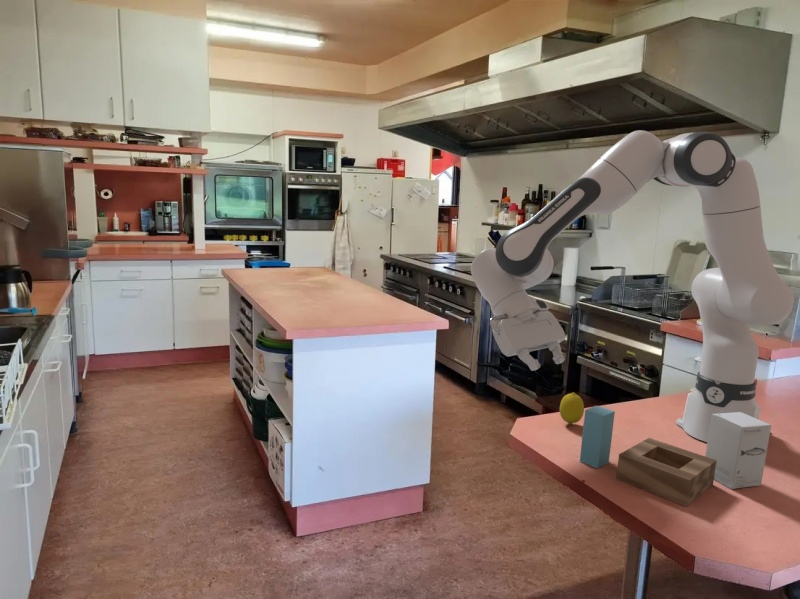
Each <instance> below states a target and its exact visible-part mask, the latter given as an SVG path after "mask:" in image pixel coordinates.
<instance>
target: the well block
mask: <svg viewBox="0 0 800 599" xmlns="http://www.w3.org/2000/svg"><path fill="white" fill-rule="evenodd" d="M617 460H618V461H617V469H616V476H615V479H616V480H618V481H620V482H624V483H626V484H628V485H631V486H634V487H637V488H638V489H641V490H643V491H646V492H647V493H651V494H654V495H656V496H658V497H661V498H663V499H665V500H669V501H670V502H673V503H676V504H679V505H681V506H683V507H686V508H687V507H688V506H689V505H690V504H691V503H692V502H694V501H695V500H696V499H697V498H699V497H700V496H701V495H702V494H704V493H705V492H706V491H707V490H708V489H710V488H711V487H712V486H714V481H715V479H714V475H715V468H716V462H717V460H714V459H711V458H708V457H705V455H702V454H698V453H696V452H693V451H690V450H686V449H683V448H682V447H678V446H674V445H672V444H669V443H666V442H663V441H659V440H657V439H654V438H651V437H648V438H647V439H645V440H642V441H640V442H639V443H637V444H636V445H633V446H631V447H630V448H628V449H626V450H625V451H622V452H620V453H619V454H618V459H617Z"/></svg>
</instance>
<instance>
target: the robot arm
mask: <svg viewBox="0 0 800 599" xmlns="http://www.w3.org/2000/svg"><path fill="white" fill-rule="evenodd" d="M651 180H654V181H656V182H657V183H660V184H662V185H666V186H669V187H670V186H675V187H682V188H683V187H690V186H694V188H696V189H697V192H698V194H699V197H700V199H701V210H702V211H701V212H702V223H703V230H704V241H705V243H704V244H705V247H706V250H707V251H708V253H709V254H710V255H711V256H712V257H713V259H714V260H715V262H716V264H717V267H712V268H706V269H704V270H702V271H700V272H699V273H697V275H696V276H695V277H694V279H693V280H692V283H691V287H690V288H691V290H690V291H691V295H692V298H693V300H694V301H695V302H696V305H697V307H698V312H699V317H700V322H701V323H700V324H701V329H702V330H701V331H702V348H701V350H702V351H701V359H700V367H699V372H697V373H696V374H697V375H696V377H695V386H694V387H695V389H694V390H692V391H690V392H688V394H687V398H686V401H685V407H684V411H683V416H682V417H679V418H677V419H676V420H675V424H676V425H677V426H679V427H681V429H683V430H684V432H685V433H686V434H688V435H689V436H691V437H693V438H695V439H696V440H700V441H702V442H705V443H707V442H708V436H709V429H710V423H711V417H712V414H719V413H733V412H742V413H744V414H747V415H749V416H752V417H754V418H756V419H759V420H760V413H761V407H760V405H759V403H758V402H757V401H756V399H755V398H756V392H757V385H758V379H757V378H756V373H757V365H758V360H759V353H760V351H759V347H758V344H757V342H756V340H755V338H754V337H753V334H752V332H751V329H750V325H754V326H755V325H756V326H758V325H759V326H773V325H774V326H775V325H777V324H779V323H782V322H783V321H784V320H786V318H787V317H789V315H790V314H791V312H792V311H793V308H794V304H795V303H794V302H795V300H794V299H795V298H794V293H793V290H792V289H791V287H790V286H789V284H787V283H786V282H785V281H784V280H783V279H782V278H781V277H780V275H779V273H778V272H777V270H776V268H775V265H774V264H773V261H772V258H771V256H770V254H769V251H768V249H767V245H766V243H765V237H764V230H763V219H762V208H761V199H760V190H759V186H758V182H757V178H756V175H755V172H754V169H753V166H752V164H751V163H750V162H749V161H748V160H747V159H744V158H741V157H737V156H735V155H734V153H732V150H731V148H730V146H729V144H728V143H727V142H726V140H725V139H724V138H723V137H722V136H720V135H718V134H717V133H714V132H710V131H696V132H686V133H682V134H679V135H676V136H674V137H669V138H666V139H662V140H661V139H659V138H658V137H657V136H656V135H655V134H653V133H651V132H649V131H647V130H642V129H641V130H640V129H639V130H633V131H632V132H630V133H628V134H627V135H626V136H624V137H623V138H621V139H620V140H619V141H617V142H616V143H615V144H614V145H612V146H610V148H609V149H608V150H606V151H605V152H604V153H603V154H602V155H601V156H600V157H599V158H598V159H597V160H596V161H595V162H594V163H593V164H592V165H591V166H590V167H589V168H588V169H587V170H586V171H585V172H584V173H583V174H582V175H581V176H580V177H578V179H576V180H575V181H573V183H571V184H570V185H568V186H567V187H566V188H565V189H563V190H562V191H561V192H560V193H559V194H558V195H556V196H555V197H554V198H553V199H552V200H551V201H549V202H548V203H547V204H546V205H545V206H544V207H543V208H542V209H541V210H539V211H538V212H536V214H534V216H532V217H531V218H530V219H529V220H527V221H525V222H523V223H521V224H520V225H517V226H515V227H512V228H510V229H508V231H506V232H505V233H504V234H502V236H500V237H499V240H498V242H496V243H497V244H496V246H495V247H488V248H485V249H484V250H481V251H480V252H479V253H477V255H476V256H475V257H474V259H473V260H472V263H471V265H470V274H471V276H472V279H473V281H474V283H475V284H474V285H476V287H477V289H478V290H479V292H480V294H481V296H482V297H483V299H485V300H486V301H487V303H488V304H489V307H490V310H491V312H492V314H493V316H491V317H490V320H489V321H490V322H489V326H490V328H491V329H492V335H493V337H494V340H495V342H496V344H497V346H498V347H499V350H500V351H501V354H503V355H504V356H506V357H512V356H513V357H514V356H518V358H519V359H520V360H521V361H522V362H523V363H524V364H526V365H527V366H528V368H529V369H530V371H532V372H533V371H537V370H539V368H541V363H540V362H539V360H538V359H536V358H534V357H533V356H532V355H531V354H530V353H531V352H534V351H539V350H543V349H546V348H547V349H549V351H550V352H552V355H553V357H552V360H553V362H554V364H556V365H559V364H562V363H563V362H565V360H566V358H565V357H564V355H563V353H562V349H561V344H560V343H561V342H563V341H564V340H565V339H566V334H565V331H564V328H563V327H562V326H561V324H560V322H559V321H558V319H557V318H556V317H555V315H554V314H553V313H552V312H551V311H549V309H550V306H549V304H548V303H547V302H546V301H544V300H540V299H537V298H535V297H533V296H531V295H529V294H528V292H527V291H526V290H529V289H531V288H533V287H535V286H537V285H539V284H541V283H544V282H545V281H547V280H548V279H549V278H550V277H551V275H552V273H553V271H554V268H555V260H554V256H553V255H552V253H551V251H550V250H549V249H548V247H549V246H550V244H551V242H552V241H553V240H555V239H556V238H557V237H558V236H559V235H560V234H562V232H563V231H565V230H566V229H567V228H568V227H569V226H570V225H572V224H573V223H574V222H575V221H577V219H579V218H581V217H582V216H585V215H588V214H589V215H590V214H598V215H607V214H608V215H609V214H612V213H614V212H616V211H617V210H619V209H620V208H622V207H623V206H624V205H625V204H626V203H628V202H629V201H630V200H631V199H632V198H634V196H635V195H636V194H637V193H638V192H639V191H640V190H641V189H642V188H643V187H645V185H646V184H647V183H648V182H650V181H651Z"/></svg>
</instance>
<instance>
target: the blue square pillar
mask: <svg viewBox="0 0 800 599" xmlns="http://www.w3.org/2000/svg"><path fill="white" fill-rule="evenodd" d="M615 412H616V411H615V410H612V409H609V408H605V407H602V406H600V405H594V406H592V407H590V408H586V409H584V416H583V417H584V418H583V428H582V435H581V436H582V437H581V445H580V446H581V447H580V456H579V462H580V463H583V464H586V465H588V466H591V467H593V468H596V469H599V468H601V467H603V466H605V465H607V464H608V463H610V457H611V456H610V455H611V447H612V446H611V445H612V439H613V438H612V437H613V430H614V421H615Z"/></svg>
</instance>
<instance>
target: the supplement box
mask: <svg viewBox="0 0 800 599" xmlns="http://www.w3.org/2000/svg"><path fill="white" fill-rule="evenodd" d="M771 429H772V424H771V423H768V422H766V421H763V420H762V419H761V420H760V418H759V419H756V418H754V417H752V416H749V415H747V414H744V413H742V412H733V413H719V414H712V417H711V423H710V429H709V436H708V442H706V449H705V450H706V451H705V455H704V456H705V457H708V458H711V459H714V460H717V462H716V468H715V475H714V481H717V483H719V484H722V485H723V486H725V487H727V488H729V489H730V490H735V489H741V488H749V487H760V486H762V481H763V476H764V470H765V464H766V459H767V453H768V446H769V443H770V442H769V440H770V435H771Z"/></svg>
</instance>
